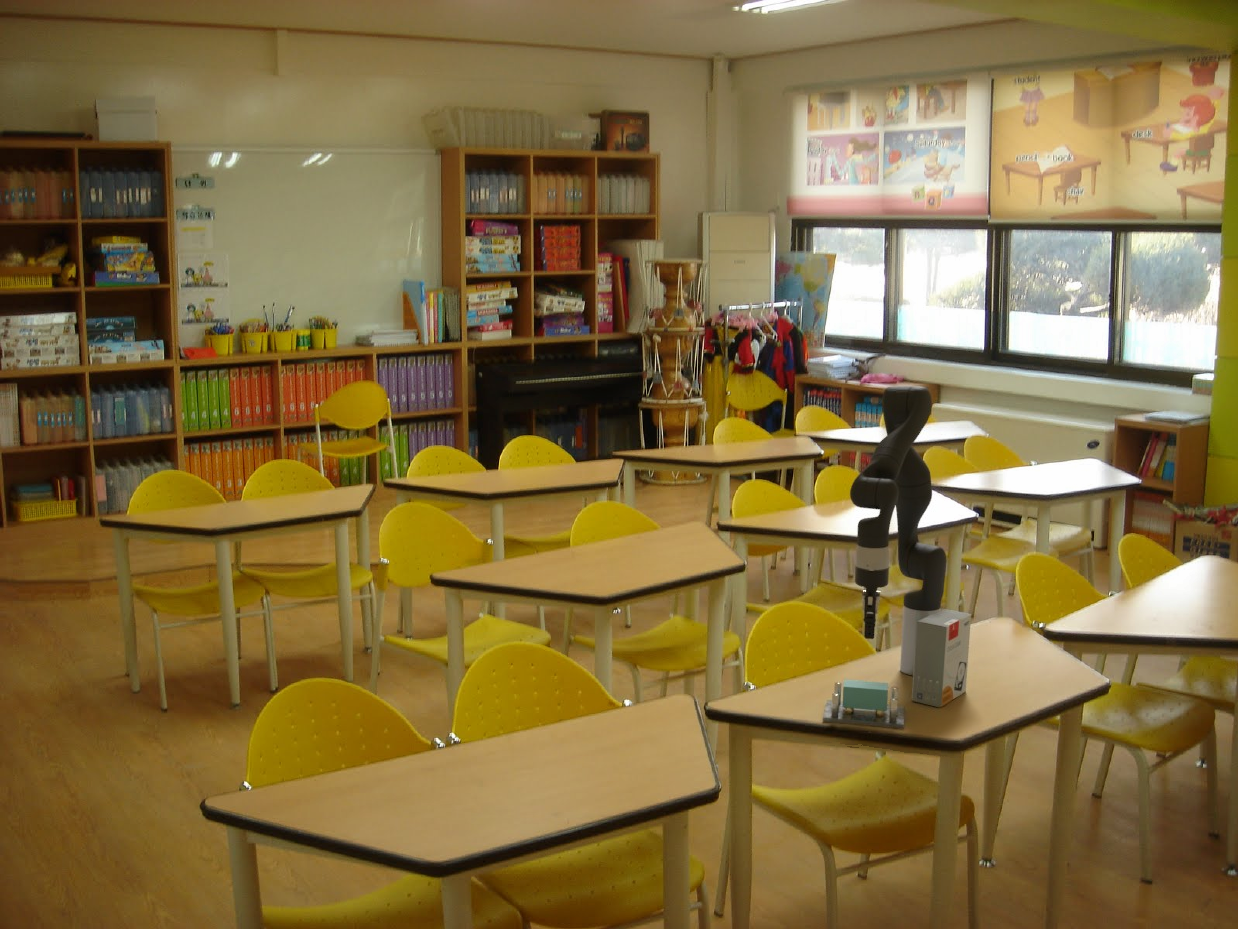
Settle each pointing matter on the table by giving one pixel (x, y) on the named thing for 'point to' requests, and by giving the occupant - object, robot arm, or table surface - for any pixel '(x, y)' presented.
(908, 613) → the robot arm
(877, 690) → the green box
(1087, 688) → the table surface
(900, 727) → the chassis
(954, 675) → the hard drive box
